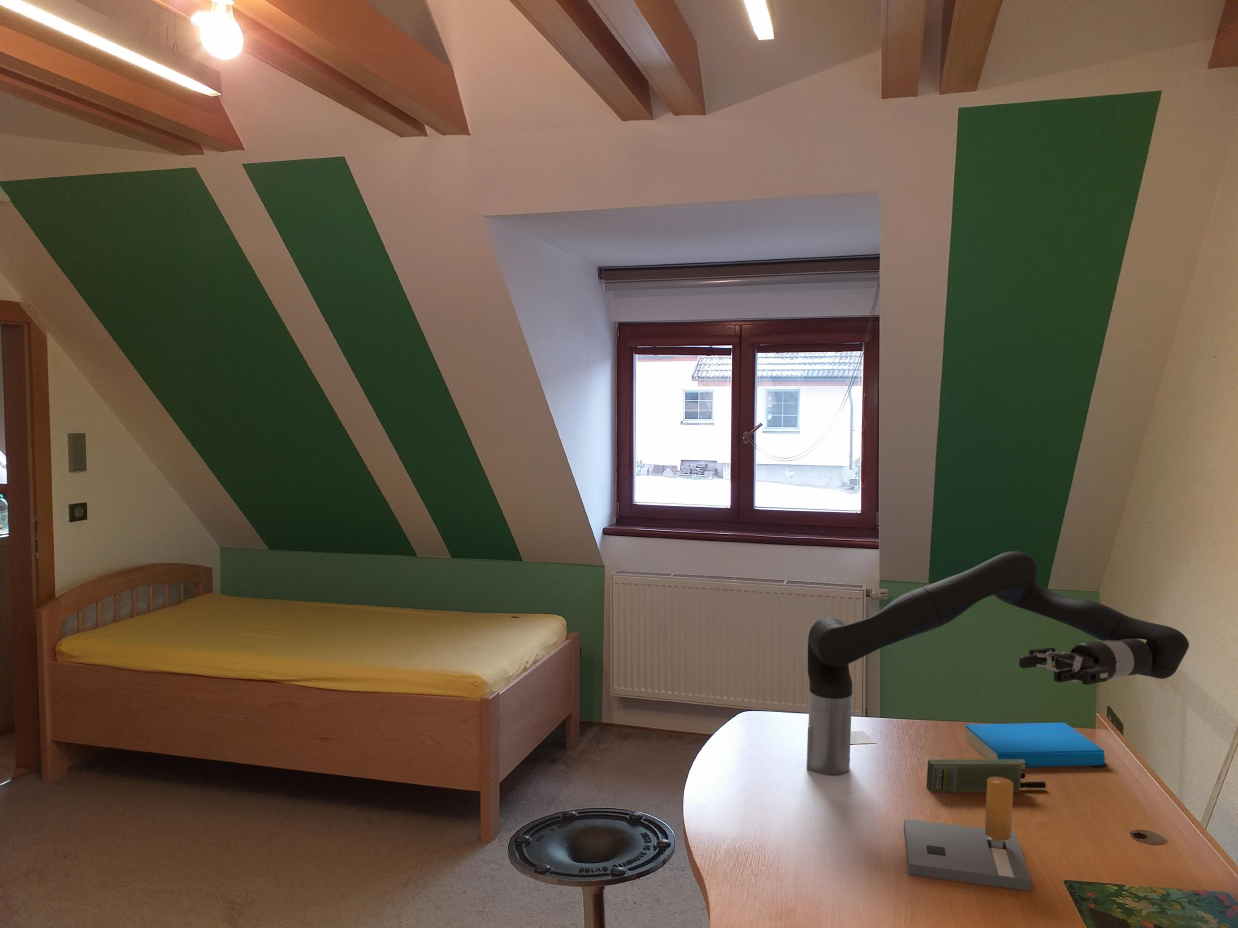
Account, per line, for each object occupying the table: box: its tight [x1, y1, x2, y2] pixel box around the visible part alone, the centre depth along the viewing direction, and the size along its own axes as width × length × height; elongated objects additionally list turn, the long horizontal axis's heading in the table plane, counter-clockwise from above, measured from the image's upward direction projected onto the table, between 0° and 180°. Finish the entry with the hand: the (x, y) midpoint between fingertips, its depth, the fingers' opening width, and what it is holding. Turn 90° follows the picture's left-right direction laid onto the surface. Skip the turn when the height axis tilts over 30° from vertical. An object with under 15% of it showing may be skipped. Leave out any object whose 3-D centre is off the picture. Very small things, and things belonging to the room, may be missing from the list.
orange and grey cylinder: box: [984, 777, 1014, 849], centre depth 170 cm, size 4×4×14 cm
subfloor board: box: [903, 818, 1032, 892], centre depth 169 cm, size 20×17×2 cm
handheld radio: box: [925, 758, 1047, 793], centre depth 197 cm, size 7×3×25 cm
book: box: [964, 722, 1106, 768], centre depth 217 cm, size 17×4×25 cm
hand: (1037, 669), depth 177 cm, fingers open, 8 cm apart
